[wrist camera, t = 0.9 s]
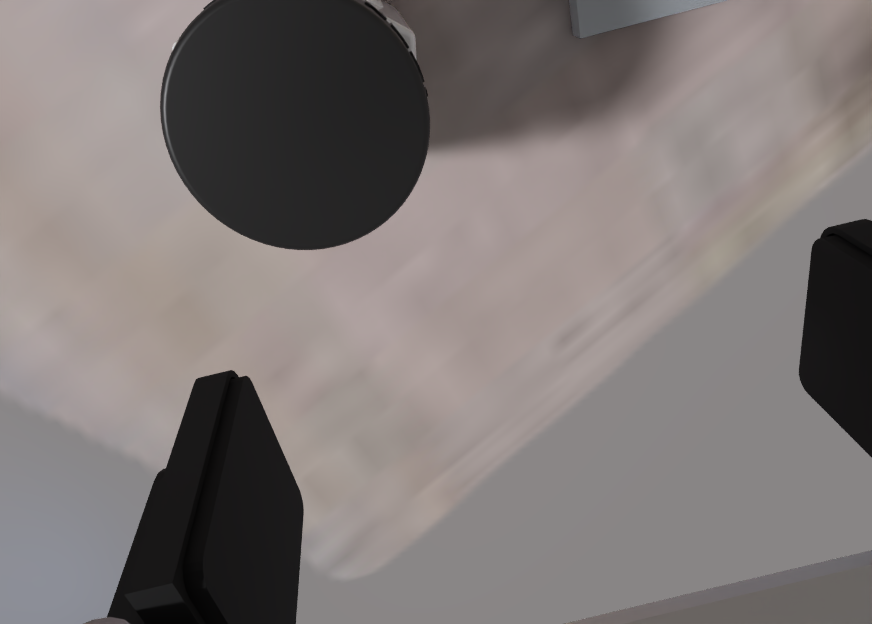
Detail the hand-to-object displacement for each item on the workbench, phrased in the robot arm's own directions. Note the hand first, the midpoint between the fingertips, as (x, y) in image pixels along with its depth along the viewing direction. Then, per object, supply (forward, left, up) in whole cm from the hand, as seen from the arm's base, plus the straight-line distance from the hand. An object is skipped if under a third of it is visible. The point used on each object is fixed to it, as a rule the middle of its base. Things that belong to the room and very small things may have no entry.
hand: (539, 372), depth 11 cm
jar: (-2, -4, -24) cm, 24 cm away
